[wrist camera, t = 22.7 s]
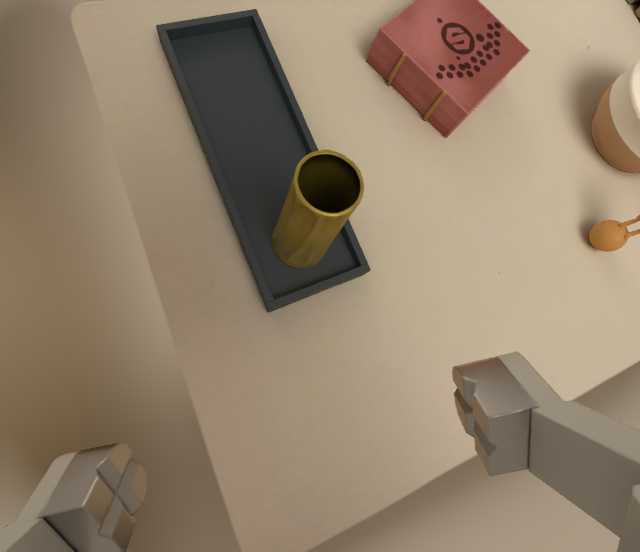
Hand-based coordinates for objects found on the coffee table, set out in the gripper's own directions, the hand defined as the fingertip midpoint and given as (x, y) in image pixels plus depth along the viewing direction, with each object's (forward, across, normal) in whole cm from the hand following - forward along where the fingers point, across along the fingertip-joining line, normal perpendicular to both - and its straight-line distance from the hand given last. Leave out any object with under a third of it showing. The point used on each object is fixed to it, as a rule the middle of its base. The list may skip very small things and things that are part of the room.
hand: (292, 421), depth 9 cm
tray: (+38, +3, -2) cm, 38 cm away
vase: (+31, +1, +7) cm, 32 cm away
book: (+49, -22, -5) cm, 54 cm away
